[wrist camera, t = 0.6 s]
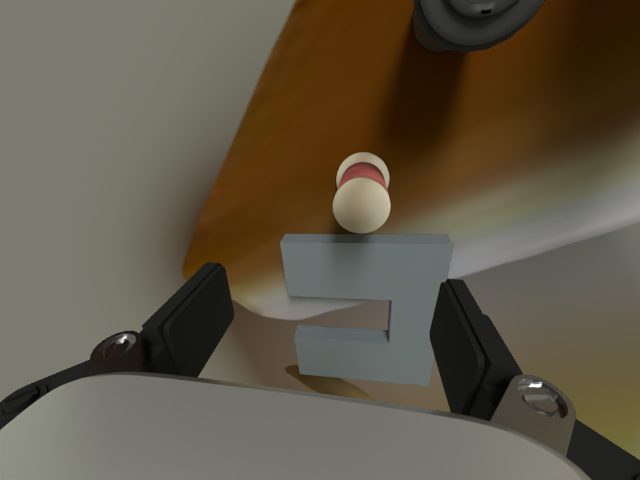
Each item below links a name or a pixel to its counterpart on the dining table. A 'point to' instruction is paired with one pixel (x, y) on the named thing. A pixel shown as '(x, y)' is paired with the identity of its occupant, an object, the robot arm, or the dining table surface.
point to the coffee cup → (469, 22)
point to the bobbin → (362, 193)
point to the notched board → (373, 284)
